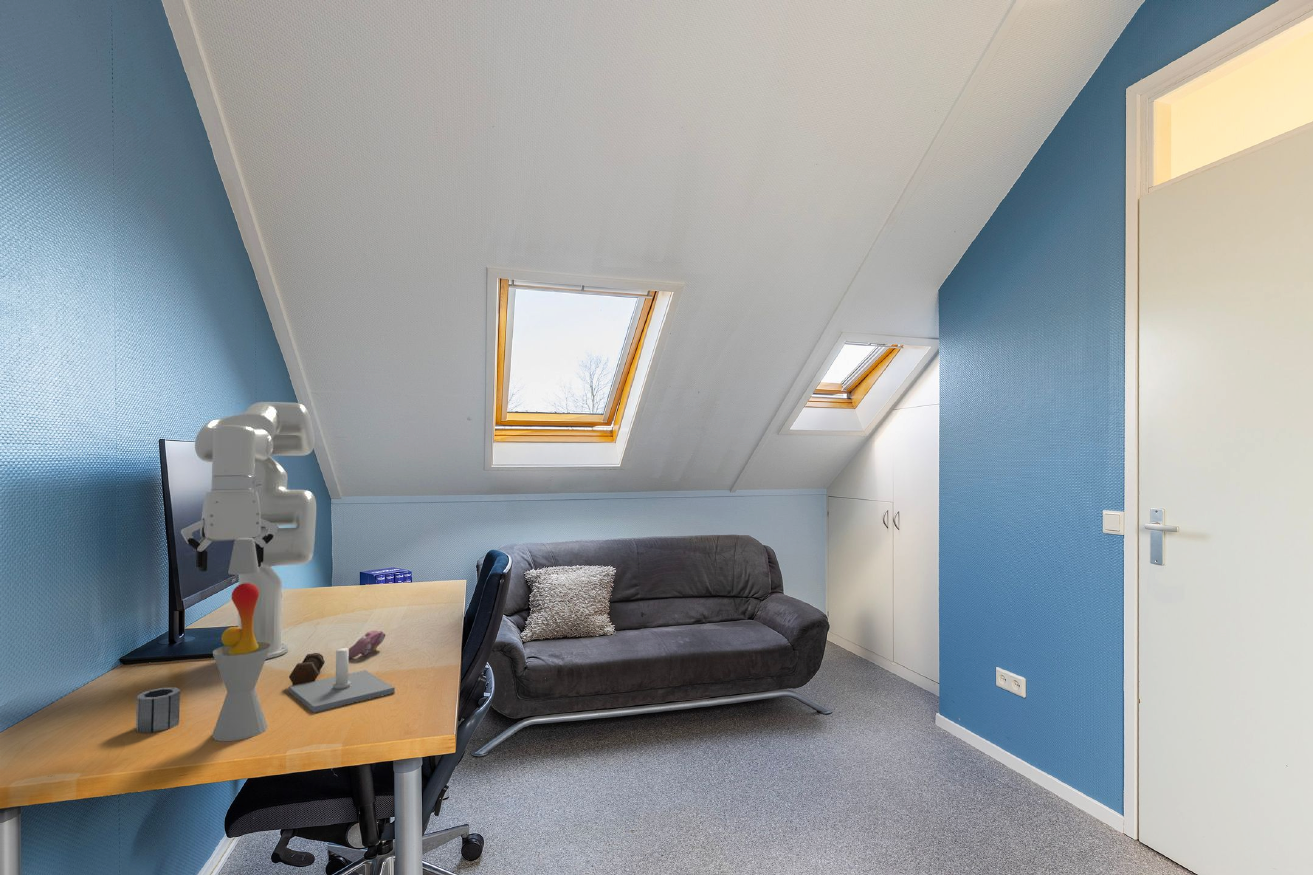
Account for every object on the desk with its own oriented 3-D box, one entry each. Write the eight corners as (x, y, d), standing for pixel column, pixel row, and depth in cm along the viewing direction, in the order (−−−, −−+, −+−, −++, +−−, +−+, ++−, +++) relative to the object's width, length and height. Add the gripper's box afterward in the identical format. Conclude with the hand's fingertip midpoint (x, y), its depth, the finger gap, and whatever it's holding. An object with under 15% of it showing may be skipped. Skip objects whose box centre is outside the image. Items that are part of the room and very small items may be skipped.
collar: (134, 725, 126) (135, 692, 126) (175, 716, 130) (175, 685, 130) (139, 735, 121) (140, 701, 121) (181, 725, 125) (182, 693, 126)
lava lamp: (272, 718, 129) (275, 534, 130) (264, 736, 121) (268, 540, 122) (216, 725, 126) (221, 536, 127) (205, 744, 117) (209, 542, 118)
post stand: (288, 692, 144) (289, 649, 144) (365, 675, 155) (366, 635, 155) (313, 712, 132) (314, 666, 132) (394, 693, 143) (395, 650, 144)
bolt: (319, 674, 161) (306, 693, 147) (299, 665, 160) (284, 683, 146) (333, 652, 162) (321, 668, 148) (313, 642, 161) (300, 658, 147)
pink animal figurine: (357, 666, 167) (369, 641, 166) (342, 656, 167) (354, 631, 167) (380, 654, 177) (391, 631, 176) (365, 646, 177) (377, 622, 177)
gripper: (273, 485, 149) (271, 563, 148) (178, 485, 137) (175, 571, 136) (284, 484, 144) (282, 566, 143) (187, 485, 132) (184, 574, 130)
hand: (230, 568), depth 139 cm, fingers open, 9 cm apart
